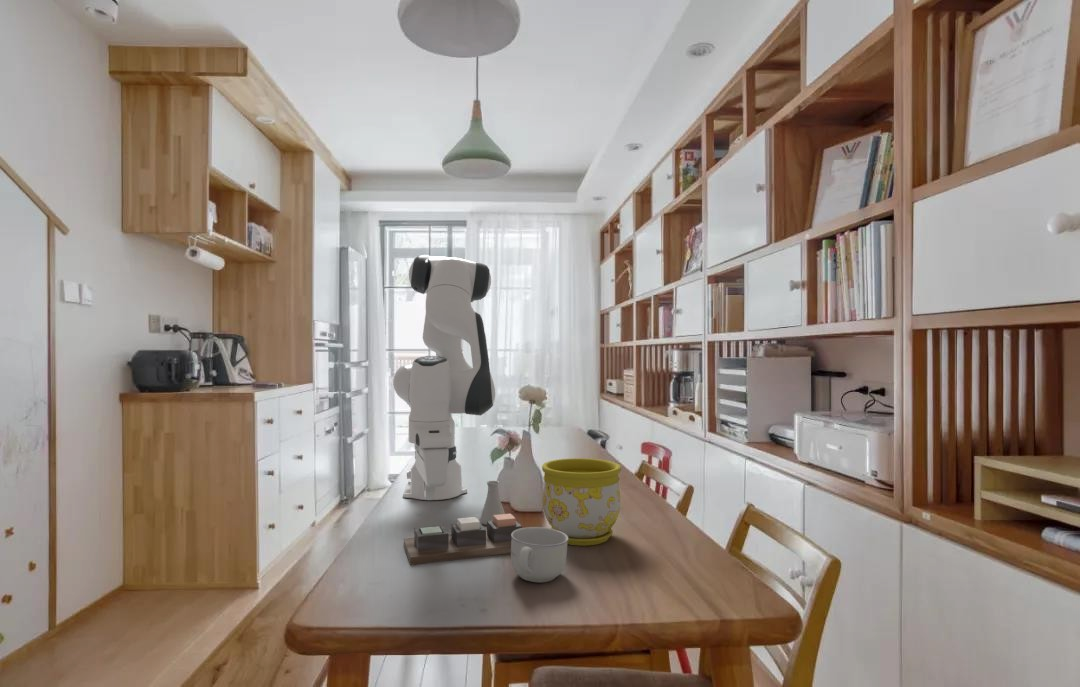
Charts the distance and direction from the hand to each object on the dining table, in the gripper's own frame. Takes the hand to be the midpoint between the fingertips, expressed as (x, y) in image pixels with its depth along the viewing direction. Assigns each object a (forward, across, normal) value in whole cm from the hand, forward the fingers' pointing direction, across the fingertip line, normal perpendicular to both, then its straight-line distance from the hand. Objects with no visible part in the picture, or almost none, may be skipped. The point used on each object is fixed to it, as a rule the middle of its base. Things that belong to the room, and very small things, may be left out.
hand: (429, 498), depth 124 cm
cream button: (+7, 0, +8) cm, 11 cm away
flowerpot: (+11, +1, +34) cm, 36 cm away
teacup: (+11, +21, +17) cm, 29 cm away
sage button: (+8, +1, 0) cm, 9 cm away
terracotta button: (+7, 0, +16) cm, 18 cm away
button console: (+11, 0, +8) cm, 14 cm away
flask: (+12, -17, +18) cm, 27 cm away
